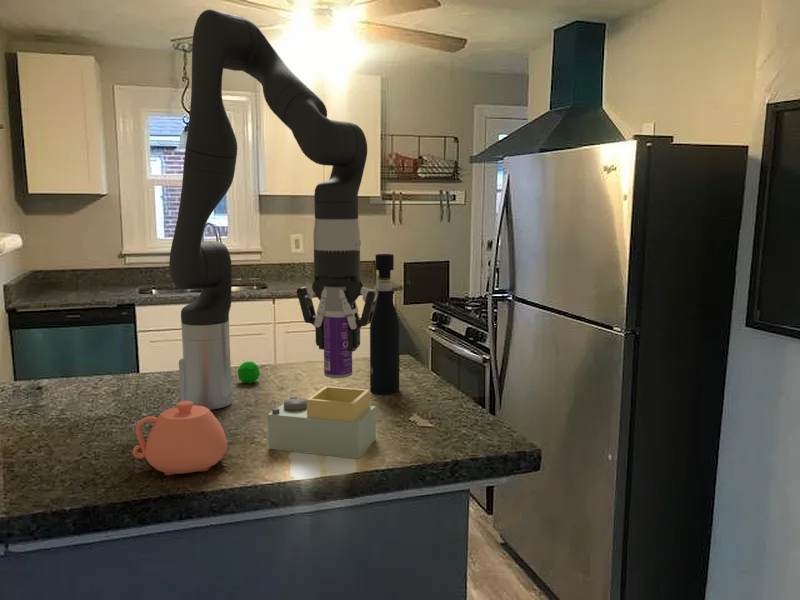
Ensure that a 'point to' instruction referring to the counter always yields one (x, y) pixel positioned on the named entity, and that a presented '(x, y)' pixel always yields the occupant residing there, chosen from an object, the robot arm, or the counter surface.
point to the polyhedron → (248, 372)
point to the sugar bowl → (182, 439)
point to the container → (336, 336)
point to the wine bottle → (384, 334)
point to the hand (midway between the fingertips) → (338, 349)
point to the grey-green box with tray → (325, 423)
